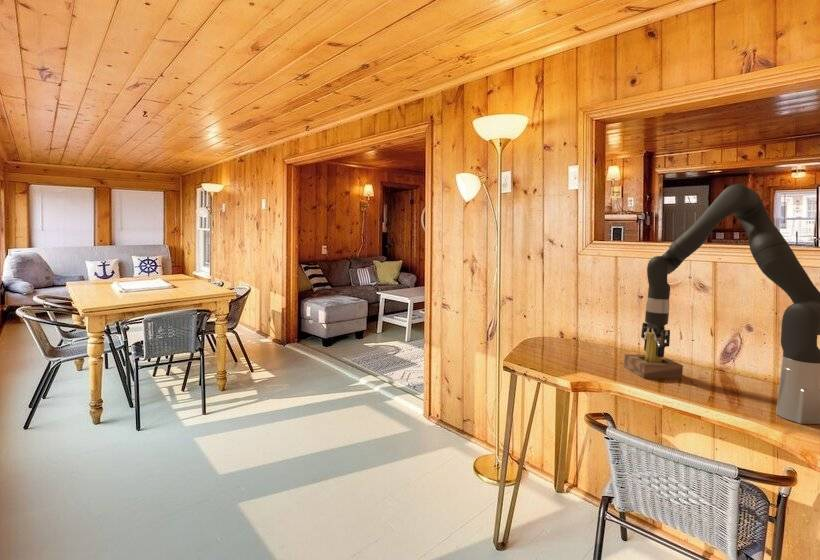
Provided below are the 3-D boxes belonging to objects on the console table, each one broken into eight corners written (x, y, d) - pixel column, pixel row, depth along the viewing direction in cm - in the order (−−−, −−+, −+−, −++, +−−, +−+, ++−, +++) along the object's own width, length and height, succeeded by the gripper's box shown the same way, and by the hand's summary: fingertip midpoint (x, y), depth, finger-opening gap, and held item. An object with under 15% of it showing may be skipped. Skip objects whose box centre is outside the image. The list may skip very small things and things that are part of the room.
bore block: (681, 379, 168) (683, 365, 167) (643, 378, 167) (644, 364, 167) (659, 367, 182) (660, 354, 181) (623, 366, 181) (624, 354, 180)
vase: (664, 373, 170) (667, 334, 169) (646, 371, 172) (649, 333, 170) (658, 368, 176) (662, 331, 175) (641, 366, 178) (644, 329, 176)
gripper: (679, 314, 165) (675, 359, 167) (656, 307, 179) (652, 349, 181) (658, 313, 165) (654, 359, 166) (637, 307, 179) (633, 348, 180)
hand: (653, 353), depth 174 cm, fingers open, 8 cm apart
